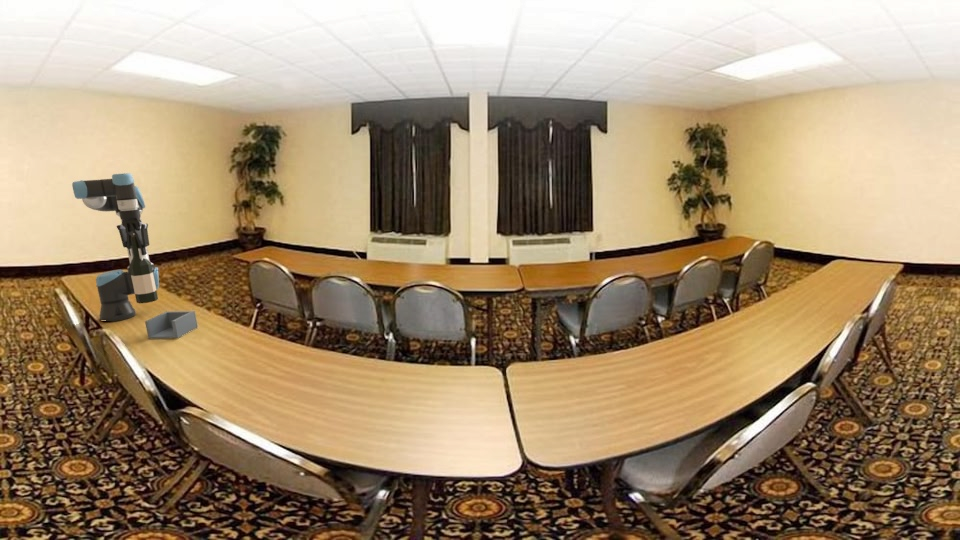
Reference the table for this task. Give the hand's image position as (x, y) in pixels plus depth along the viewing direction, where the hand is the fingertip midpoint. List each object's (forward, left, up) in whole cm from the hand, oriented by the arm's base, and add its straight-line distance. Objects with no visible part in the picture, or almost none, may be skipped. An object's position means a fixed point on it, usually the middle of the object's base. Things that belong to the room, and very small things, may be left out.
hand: (139, 262), depth 242 cm
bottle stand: (+12, -3, -32) cm, 34 cm away
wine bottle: (0, 0, -18) cm, 18 cm away
